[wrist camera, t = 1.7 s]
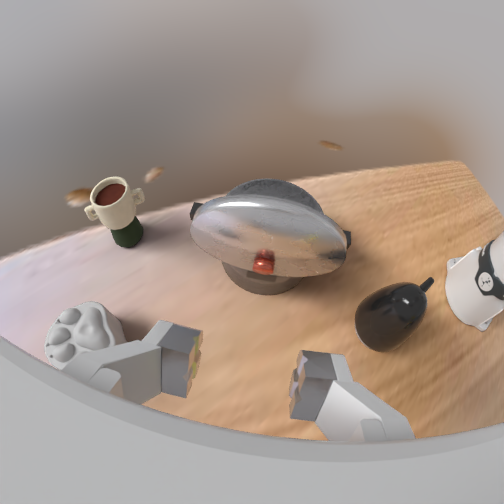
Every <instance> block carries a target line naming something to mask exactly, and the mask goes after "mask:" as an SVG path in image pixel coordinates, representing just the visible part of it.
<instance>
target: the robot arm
mask: <svg viewBox="0 0 504 504" xmlns="http://www.w3.org/2000/svg"><path fill="white" fill-rule="evenodd" d="M447 270H448V274H447V278H446V283H445V289H446V295H447V299H448V302H449V305H450V307H451V309H452V311H453V312H454V314H455V315H456V316H457V317H458V318H459V319H460V320H461V321H462V322H463V323H465V324H467V325H472V326H475V327H476V328H477V329H479V330H480V331H484V330H486V329H487V327H488V326H489V324H490V322H491V321H492V319H493V317H494V316H495V315H497V314H498V313H500V312H501V311H502V310H503V307H504V231H503V232H502V233H501V235H500V236H499V237H498V238H497V239H496V240H492V241H491V242H490V243H488V244H487V245H486V246H485V247H484V248H483V249H482V248H481V247H478V248H476V249H473V250H472V251H470V252H469V253H468V254H466V255H465V256H464V257H458V258H453V259H450V260H448V261H447ZM202 341H203V331H202V330H198V329H194V328H190V327H186V326H183V325H179V324H174V323H172V322H168V321H164V320H159V321H158V322H157V323H156V325H155V326H154V327H153V328H152V329H151V330H150V332H149V333H148V334H147V335H146V336H145V337H144V339H143V340H142V341H139V340H135V341H132V342H128V343H124V344H120V345H116V346H112V347H108V348H104V349H100V350H96V351H91V352H87V353H83V354H78V355H77V356H76V357H75V358H74V359H73V360H72V361H70V362H69V363H68V364H67V365H66V366H65V367H64V368H63V369H62V370H61V371H60V370H58V369H56V368H54V367H52V366H51V365H49V364H47V363H45V362H43V361H41V360H40V359H38V358H36V357H34V356H33V355H31V354H29V353H27V352H26V351H24V350H22V349H21V348H19V347H18V346H16V345H14V344H13V343H11V342H10V341H8V340H7V339H5V338H4V337H2V336H1V335H0V504H504V422H503V423H499V424H495V425H491V426H487V427H483V428H479V429H474V430H469V431H464V432H459V433H454V434H448V435H441V436H434V437H426V438H417V439H416V438H415V436H414V434H413V431H412V429H411V427H410V425H409V422H408V420H407V418H406V417H405V416H403V415H402V414H400V413H399V412H398V411H396V410H395V409H393V408H392V407H391V406H389V405H388V404H387V403H385V402H384V401H382V400H381V399H380V398H378V397H377V396H376V395H374V394H373V393H372V392H370V391H369V390H368V389H366V388H365V387H363V386H362V385H361V384H359V383H358V382H354V381H353V378H352V376H351V373H350V370H349V367H348V364H347V362H346V359H345V356H344V355H343V354H332V353H323V352H314V351H305V350H300V352H299V354H298V358H297V368H296V369H295V370H293V374H292V377H291V381H290V387H289V396H290V397H291V398H292V399H291V402H290V405H289V407H290V418H291V419H299V420H307V421H315V423H316V425H317V426H318V427H319V429H320V430H321V431H322V432H323V434H324V435H325V436H326V437H327V439H328V440H329V441H321V440H306V439H295V438H285V437H277V436H269V435H262V434H256V433H250V432H244V431H238V430H233V429H228V428H223V427H218V426H214V425H209V424H205V423H201V422H197V421H193V420H189V419H185V418H182V417H178V416H175V415H171V414H168V413H165V412H161V411H158V410H155V409H152V408H149V407H146V406H143V405H140V404H142V403H144V402H146V401H148V400H149V399H151V398H153V397H155V396H157V395H158V394H160V393H161V392H163V393H167V394H171V395H175V396H179V397H183V398H187V395H188V393H189V391H190V388H191V386H192V379H194V378H195V377H196V374H197V371H198V368H199V364H200V358H201V352H200V350H199V348H200V346H201V344H202Z"/></svg>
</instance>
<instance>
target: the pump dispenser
mask: <svg viewBox="0 0 504 504" xmlns="http://www.w3.org/2000/svg"><path fill="white" fill-rule="evenodd" d="M433 283H434V279H433V278H432V277H429V278H428V279H427V280H426V281H425V282H424V283H422V284H421V285H420V286H418V285H416V284H414V283H410V282H401V283H396V284H392V285H389V286H386V287H384V288H381V289H379V290H377V291H375V292H374V293H372V294H370V295H369V296H367V297H366V298H365V299H364V300H363V301H362V302H361V303H360V304H359V306H358V308H357V310H356V314H355V331H356V334H357V336H358V338H359V340H360V341H361V342H362V343H363V344H364V345H365V346H366V347H368V348H370V349H372V350H375V351H378V352H389V351H392V350H394V349H396V348H398V347H399V346H401V345H402V344H403V343H404V342H405V341H407V340H408V339H409V338H410V337H411V336H412V334H413V333H414V332H415V331H416V329H417V328H418V327H419V325H420V324H421V322H422V320H423V318H424V316H425V313H426V310H427V297H426V294H425V292H426V291H427V290H428V289H429V288H430V287H431V285H432V284H433Z"/></svg>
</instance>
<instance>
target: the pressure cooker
mask: <svg viewBox="0 0 504 504" xmlns="http://www.w3.org/2000/svg"><path fill="white" fill-rule="evenodd" d="M238 194H254V195H266V196H273V197H279V198H283V199H287V200H291V201H294V202H298V203H301V204H304V205H306V206H308V207H311V208H313V209H315V210H317V211H319V212H321V213H323V211H322V209H321V207H320V205H319V204H318V203H317V201H316V200H315V199H314V198H313V197H312V196H311V195H310V194H309V193H308V192H306V191H305V190H304V189H302V188H300V187H298V186H296V185H294V184H292V183H289V182H286V181H282V180H277V179H257V180H252V181H248V182H245V183H243V184H241V185H239V186H237V187H235V188H234V189H232V190H231V191H230V192H229V193H228V194H227V195H226V196H229V195H238ZM202 205H203V204H201V203H195V202H194V204H193V207H192V209H191V212H190V218H191V220H193V218H194V215H195V212H196V211H197V209H198V208H199V207H200V206H202ZM343 232H344V234H345V236H346V239H347V247H346V249H348V248H349V246H350V245H351V232H349V231H344V230H343ZM222 263H223V267H224V269H225V271H226V273H227V275H228V276H229V277H230V279H231V280H232V281H233V282H234V283H235V284H237V285H238V286H239V287H241V288H243V289H244V290H246V291H249V292H251V293H255V294H260V295H275V294H279V293H283V292H285V291H288V290H290V289H291V288H293V287H294V286H296V285H297V284H298V283H299V282H300V281H301V279H302V278H303V277H287V276H276V275H264V274H259V273H256V272H253V271H249V270H246V269H242V268H239V267H236V266H233V265H230V264H228V263H225V262H223V261H222Z"/></svg>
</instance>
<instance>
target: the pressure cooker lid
mask: <svg viewBox="0 0 504 504" xmlns="http://www.w3.org/2000/svg"><path fill="white" fill-rule="evenodd" d="M190 233H191V237H192V239H193V240H194V242H195V243H196V244H197V245H198V246H199V247H200V248H201V249H203V250H204V251H205V252H207V253H208V254H210V255H211V256H213V257H215V258H217V259H219V260H221V261H223V262H225V263H228V264H230V265H233V266H236V267H239V268H242V269H246V270H249V271H253V272H256V273H259V274H264V275H276V276H287V277H306V276H316V275H321V274H325V273H328V272H331V271H333V270H335V269H337V268H339V267H340V266H341V265H342V264H343V263H344V261H345V258H346V247H347V239H346V236H345V234H344V232H343V230H342V229H341V228H340V227H339V225H338V224H337V223H335V222H334V221H333V220H332V219H331V218H329V217H328V216H326V215H324V214H323V213H321V212H319V211H317V210H315V209H313V208H311V207H308V206H306V205H304V204H301V203H298V202H294V201H291V200H287V199H283V198H279V197H273V196H266V195H254V194H238V195H229V196H224V197H219V198H216V199H213V200H210V201H208V202H206V203H204V204H203V205H202V206H200V207H199V208H198V209H197V211H196V212H195V215H194V218H193V221H192V224H191V227H190Z"/></svg>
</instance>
